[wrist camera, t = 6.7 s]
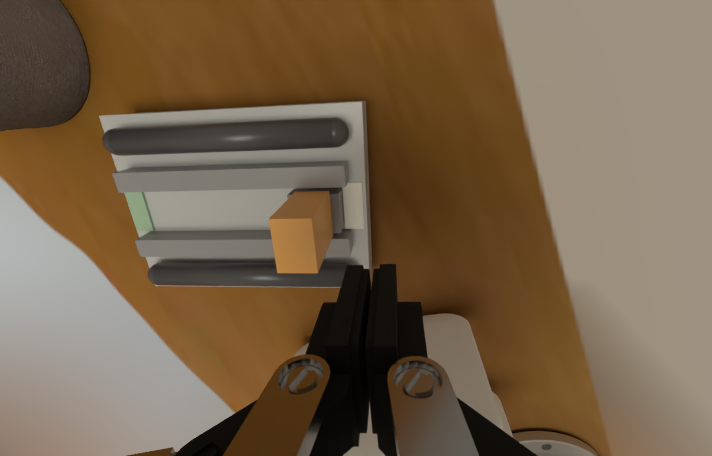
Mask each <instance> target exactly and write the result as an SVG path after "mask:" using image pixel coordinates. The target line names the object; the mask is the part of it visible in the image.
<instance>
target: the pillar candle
mask: <svg viewBox="0 0 712 456" xmlns="http://www.w3.org/2000/svg"><path fill="white" fill-rule="evenodd" d="M89 81H90V68H89V60H88V56H87V52H86V48H85V45H84V42H83V38H82V36H81V34H80V32H79V30H78V28H77V26H76V24H75V22H74V20H73V19H72V17H71V16H70V14H69V12H68V10H67V9H66V8H65V7H64V5H63V4H62V2H60V1H59V0H0V131H4V130H13V129H22V128H40V127H50V126H54V125H58V124H61V123H64V122H66V121H68V120H69V119H71V118H72V117H73V116H74V115H75V114H76V113H77V111H79V110H80V109H81V108H82V106H83V104H84V102H85V100H86V98H87V94H88V91H89Z"/></svg>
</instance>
